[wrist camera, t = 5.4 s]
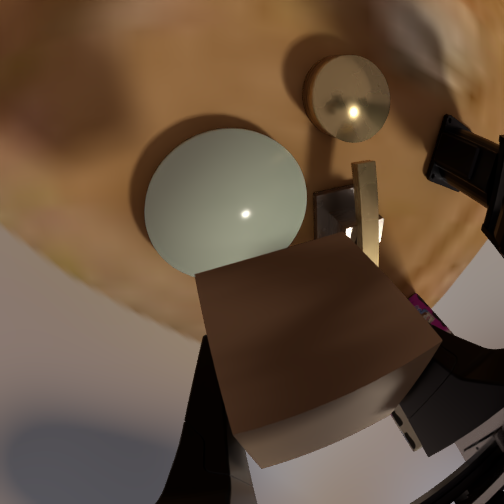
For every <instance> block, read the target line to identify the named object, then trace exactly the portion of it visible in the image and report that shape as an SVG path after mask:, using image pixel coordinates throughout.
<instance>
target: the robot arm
mask: <svg viewBox="0 0 504 504" xmlns="http://www.w3.org/2000/svg"><path fill="white" fill-rule="evenodd" d="M499 142H500V144H496V143H494V142H492V141H490V140H488V139H486V138H483V137H481V136H479V135H476V134H474V133H473V132H471V131H470V130H469V129H468V128H466V127H465V126H464V125H463V124H462V123H460V122H459V121H458V120H456V119H455V118H454V117H452V116H451V115H448V114H446V115H445V116H444V119H443V123H442V126H441V130H440V134H439V137H438V141H437V144H436V147H435V150H434V154H433V157H432V160H431V163H430V166H429V169H428V172H427V175H426V176H427V179H428V180H430V181H432V182H434V183H437V184H439V185H442V186H445V187H447V188H450V189H452V190H454V191H457V192H459V191H461V192H463V193H464V194H466V195H467V196H469V197H470V198H472V199H474V200H475V201H477V202H478V203H480V204H481V205H483V206H484V207H486V208H487V213H486V217H485V220H484V223H483V224H482V228H481V230H482V232H483V233H484V234H485V235H486V236H487V238H488V239H489V240H490V241H491V243H492V244H493V245H494V246H495V247H496V249H497V250H498V252H499V253H500V254H501V255H502V257H503V258H504V135H499ZM428 323H429V322H428ZM429 324H430V326H431V327H432V328H433V329H434V330H435V332H436V333H437V334H438V335H439V336H440V338H441V339H442V340H443V341H442V342H441V344H440V346H439V347H438V349H437V351H436V352H435V354H434V355H433V357H432V359H431V360H430V362H429V363H428V365H427V366H426V368H425V369H424V371H423V372H422V374H421V375H420V376H419V378H418V379H417V381H416V382H415V383H414V385H413V386H412V388H411V389H410V390H409V392H408V393H407V394H406V396H405V397H404V398H403V399H402V401H401V402H400V403H399V405H400V406H401V408H402V410H403V412H404V413H405V415H406V417H407V419H408V421H409V423H410V424H411V426H412V428H413V430H414V432H415V434H416V435H417V437H418V439H419V441H420V443H421V445H422V447H423V448H424V450H425V452H426V454H427V456H428V457H430V456H432V455H433V454H435V453H437V452H439V451H441V450H442V449H444V448H446V447H448V446H449V445H451V444H453V443H454V442H455V444H456V445H457V447H458V449H459V450H460V452H461V454H462V456H463V457H464V459H465V461H466V462H465V463H464V464H463V465H461V466H460V467H459V468H458V469H457V470H456V471H454V472H453V473H452V474H451V475H449V476H448V477H447V478H446V479H444V480H443V481H442V482H440V483H439V484H438V485H436V486H435V487H434V488H432V489H431V490H430V491H428V492H427V493H425V494H424V495H422V496H421V497H419V498H418V499H416V500H415V501H414V502H412V503H410V504H451V503H452V502H453V501H454V502H455V504H504V491H503V490H504V349H487V348H483V347H481V346H478V345H476V344H474V343H471V342H469V341H467V340H464V339H462V338H459V337H457V336H455V335H453V334H450V333H448V332H446V331H444V330H442V329H440V328H438V327H437V326H435V325H432V324H431V323H429ZM252 486H253V484H252V480H251V475H250V471H249V466H248V462H247V457H246V452H245V449H244V448H243V447H242V445H241V444H240V443H239V442H238V440H237V439H236V438H235V437H234V436H233V433H232V430H231V426H230V423H229V419H228V416H227V412H226V409H225V405H224V401H223V398H222V394H221V390H220V386H219V382H218V379H217V375H216V371H215V367H214V363H213V358H212V354H211V350H210V346H209V341H208V337H207V335H204V336H203V339H202V343H201V347H200V352H199V356H198V360H197V365H196V369H195V374H194V378H193V383H192V387H191V392H190V396H189V401H188V406H187V411H186V415H185V422H184V424H183V429H182V434H181V438H180V442H179V446H178V449H177V452H176V455H175V459H174V461H173V464H172V468H171V470H170V473H169V476H168V479H167V482H166V484H165V487H164V490H163V492H162V494H161V496H160V498H159V499H158V501H157V502H156V503H155V504H257V501H256V497H255V493H254V488H253V487H252Z"/></svg>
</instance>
